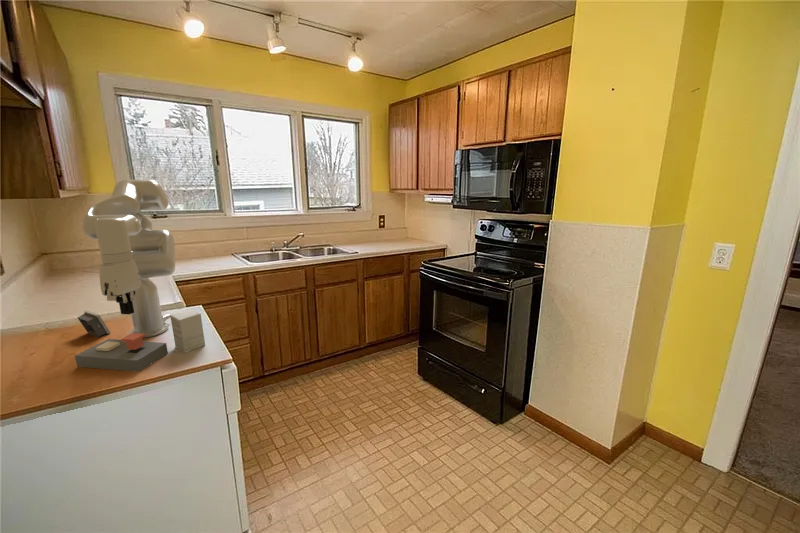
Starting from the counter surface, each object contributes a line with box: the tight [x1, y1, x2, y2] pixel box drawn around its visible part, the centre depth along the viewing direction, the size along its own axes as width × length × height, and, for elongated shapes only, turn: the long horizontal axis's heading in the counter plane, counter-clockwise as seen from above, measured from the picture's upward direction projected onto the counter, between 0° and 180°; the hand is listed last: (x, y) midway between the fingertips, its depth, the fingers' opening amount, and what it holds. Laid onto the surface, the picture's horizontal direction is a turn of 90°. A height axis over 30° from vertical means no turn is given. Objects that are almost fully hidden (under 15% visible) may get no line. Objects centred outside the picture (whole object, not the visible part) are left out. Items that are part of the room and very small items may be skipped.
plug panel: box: [74, 338, 169, 373], centre depth 118 cm, size 12×22×4 cm, turn 84°
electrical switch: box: [77, 310, 111, 338], centre depth 135 cm, size 9×5×9 cm, turn 65°
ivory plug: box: [96, 341, 120, 351], centre depth 118 cm, size 4×4×4 cm
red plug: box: [120, 333, 145, 350], centre depth 116 cm, size 4×4×4 cm
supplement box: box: [170, 308, 206, 353], centre depth 126 cm, size 7×7×13 cm
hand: (127, 313), depth 113 cm, fingers closed
